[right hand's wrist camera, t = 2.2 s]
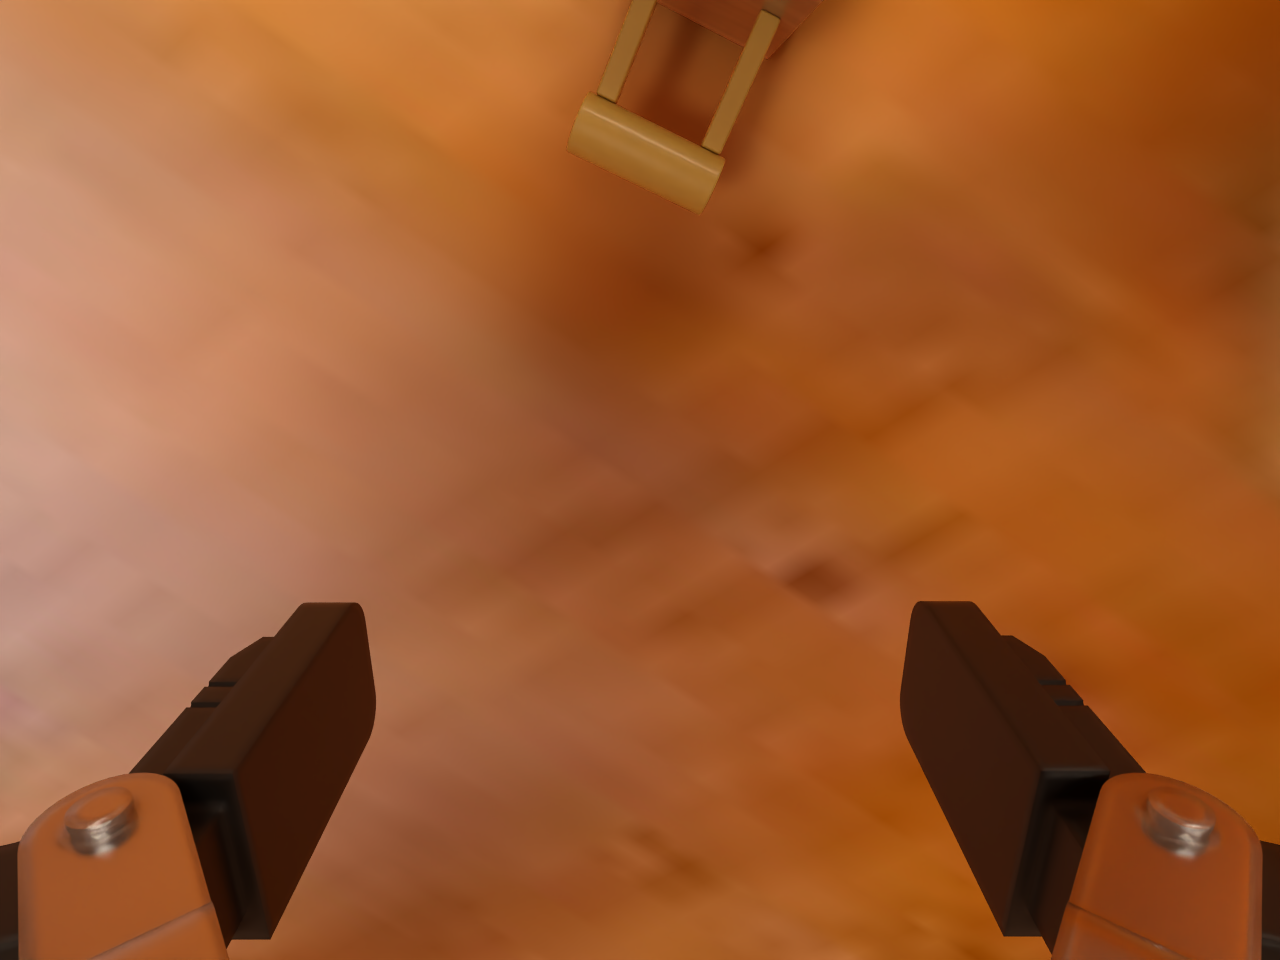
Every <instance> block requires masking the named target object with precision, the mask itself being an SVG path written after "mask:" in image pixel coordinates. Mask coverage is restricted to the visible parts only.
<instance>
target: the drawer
mask: <svg viewBox="0 0 1280 960" xmlns="http://www.w3.org/2000/svg"><path fill="white" fill-rule="evenodd" d="M822 1H823V0H632V1H631V4H630V6H629V9H628V12H627V14H626V17H625V19H624V22H623V24H622V27H621V30H620V32H619V35H618V37H617V40H616V42H615V45H614V48H613V50H612V53H611V55H610V58H609V60H608V63H607V66H606V68H605V71H604V73H603V76H602V78H601V81H600V84H599V86H598V89H597V94H598V95H597V94H595V93H593V92H588V93H587V95H586V96H585V98H584V100H583V102H582V104H581V107H580V109H579V111H578V114H577V116H576V119H575V121H574V124H573V127H572V130H571V133H570V136H569V139H568V143H567V151H568V152H569V153H571V154H573V155H575V156H577V157H580V158H582V159H584V160H586V161H588V162H590V163H592V164H594V165H596V166H598V167H600V168H602V169H604V170H606V171H608V172H611V173H613V174H615V175H617V176H619V177H621V178H623V179H625V180H627V181H629V182H631V183H633V184H635V185H637V186H640V187H642V188H644V189H646V190H648V191H650V192H652V193H654V194H656V195H658V196H660V197H662V198H664V199H666V200H668V201H671V202H673V203H675V204H677V205H679V206H681V207H683V208H685V209H687V210H689V211H691V212H693V213H695V214H697V215H700V214H701V213H702V212H703V210H704V209H705V207H706V205H707V203H708V201H709V199H710V197H711V195H712V193H713V191H714V188H715V186H716V184H717V182H718V179H719V177H720V175H721V172H722V170H723V167H724V164H725V158H723V157H721V156H719V154H720V153H721V152H722V150H723V148H724V146H725V143H726V141H727V139H728V137H729V135H730V132H731V130H732V128H733V126H734V123H735V121H736V119H737V117H738V115H739V112H740V110H741V108H742V106H743V104H744V101H745V99H746V97H747V95H748V92H749V90H750V88H751V86H752V84H753V81H754V79H755V77H756V75H757V73H758V70H759V68H760V66H761V64H762V61H763V59H764V58H765V59H768V58H769V57H770V56H771V55H772V54H773V53H774V52H775V51H776V50H777V49H778V48H779V47H780V46H781V45H782V44H783V43H784V42H785V40H786V39H787V38H788V37H789V36H790V35H791V34H792V33H793V32H794V31H795V30H796V29H797V28H798V27H799V26H800V25H801V23H802V22H803V21H804V20H805V19H806V18H807V17H808V16H809V15H810V14H811V13H812V12H813V11H814V10H815V9H816V8H817V7H818V5H819V4H820V3H821V2H822ZM657 3H659V4H661V5H663V6H665V7H667V8H669V9H671V10H673V11H675V12H676V13H678V14H680V15H682V16H684V17H686V18H688V19H690V20H692V21H694V22H696V23H698V24H699V25H701V26H703V27H705V28H707V29H709V30H711V31H713V32H715V33H717V34H719V35H721V36H722V37H724V38H726V39H728V40H730V41H732V42H734V43H736V44H738V45H740V46H742V47H744V48H743V50H742V52H741V54H740V57H739V59H738V61H737V63H736V66H735V68H734V70H733V73H732V75H731V77H730V79H729V82H728V84H727V86H726V88H725V91H724V93H723V95H722V97H721V100H720V102H719V104H718V106H717V109H716V111H715V113H714V116H713V118H712V120H711V122H710V125H709V127H708V129H707V131H706V134H705V136H704V138H703V140H702V143H701V146H699V145H697V144H695V143H693V142H691V141H689V140H687V139H685V138H683V137H681V136H679V135H677V134H675V133H673V132H671V131H669V130H667V129H665V128H663V127H661V126H659V125H657V124H655V123H653V122H651V121H649V120H647V119H645V118H643V117H641V116H639V115H637V114H635V113H633V112H631V111H629V110H627V109H625V108H623V107H621V106H619V105H617V104H616V103H617V102H618V100H619V97H620V95H621V92H622V89H623V87H624V84H625V82H626V79H627V77H628V74H629V72H630V69H631V67H632V64H633V62H634V59H635V57H636V54H637V52H638V49H639V47H640V44H641V42H642V39H643V37H644V34H645V32H646V29H647V27H648V24H649V22H650V19H651V17H652V14H653V12H654V9H655V7H656V4H657Z"/></svg>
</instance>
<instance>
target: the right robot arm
mask: <svg viewBox="0 0 1280 960" xmlns="http://www.w3.org/2000/svg"><path fill="white" fill-rule="evenodd" d="M900 709H901V718H902V723H903V727H904V731H905V734H906V736H907V739H908V741H909V743H910V745H911V747H912V749H913V751H914V753H915V755H916V757H917V759H918V761H919V763H920V765H921V768H922V770H923V772H924V774H925V776H926V778H927V780H928V782H929V784H930V786H931V788H932V790H933V792H934V794H935V796H936V798H937V800H938V802H939V804H940V807H941V809H942V811H943V813H944V815H945V817H946V819H947V821H948V823H949V825H950V827H951V829H952V831H953V833H954V835H955V837H956V839H957V841H958V843H959V846H960V848H961V850H962V852H963V854H964V856H965V858H966V860H967V862H968V864H969V866H970V868H971V870H972V872H973V874H974V876H975V878H976V880H977V882H978V885H979V887H980V889H981V891H982V893H983V895H984V897H985V899H986V901H987V903H988V905H989V907H990V909H991V911H992V913H993V915H994V917H995V919H996V921H997V924H998V926H999V928H1000V930H1001V932H1002V934H1003V936H1042V937H1043V939H1044V941H1045V943H1046V945H1047V947H1048V948H1049V950H1050V952H1051V954H1052V957H1051V960H1280V845H1278V844H1273V843H1269V842H1264V841H1260V840H1259V839H1258V836H1257V835H1256V833H1255V832H1254V830H1253V829H1252V827H1251V826H1250V825H1249V824H1248V823H1247V822H1246V821H1245V820H1244V819H1243V818H1242V817H1241V816H1240V815H1239V814H1238V813H1237V812H1236V811H1234V810H1233V809H1232V808H1231V807H1229V806H1228V805H1226V804H1225V803H1224V802H1222V801H1221V800H1219V799H1217V798H1216V797H1214V796H1212V795H1211V794H1209V793H1207V792H1205V791H1203V790H1201V789H1199V788H1197V787H1195V786H1192V785H1190V784H1187V783H1185V782H1182V781H1179V780H1176V779H1173V778H1170V777H1165V776H1161V775H1156V774H1149V773H1146V772H1145V771H1144V770H1143V769H1142V768H1141V766H1140V765H1139V764H1138V763H1137V762H1136V761H1135V760H1134V758H1133V757H1132V756H1131V755H1130V754H1129V753H1128V751H1127V750H1126V749H1125V748H1124V747H1123V746H1122V745H1121V743H1120V742H1119V741H1118V740H1117V739H1116V738H1115V736H1114V735H1113V734H1112V733H1111V732H1110V731H1109V730H1108V728H1107V727H1106V726H1105V725H1104V724H1103V723H1102V721H1101V720H1100V719H1099V718H1098V717H1097V716H1096V715H1095V713H1094V712H1093V711H1092V710H1091V709H1090V708H1089V707H1088V706H1084V704H1083V700H1082V698H1081V697H1080V696H1079V695H1078V694H1077V693H1076V692H1075V690H1074V689H1073V688H1072V687H1071V686H1070V685H1066V680H1065V679H1064V678H1063V677H1062V675H1061V674H1060V673H1059V672H1058V671H1057V670H1056V669H1055V667H1054V666H1053V665H1052V664H1051V663H1050V662H1049V660H1048V659H1047V658H1046V657H1045V656H1044V655H1042V654H1041V653H1039V652H1037V651H1036V650H1034V649H1033V648H1031V647H1030V646H1028V645H1026V644H1025V643H1023V642H1022V641H1020V640H1018V639H1017V638H1015V637H1014V636H1001V635H1000V634H999V633H998V631H997V630H996V629H995V628H994V626H993V625H992V624H991V623H990V621H989V620H988V619H987V618H986V616H985V615H984V614H983V613H982V612H981V610H980V609H979V608H978V607H977V605H976V604H975V603H973V602H970V601H920V602H917V603H916V604H915V606H914V608H913V611H912V614H911V620H910V627H909V634H908V641H907V648H906V656H905V663H904V670H903V677H902V684H901V692H900ZM375 711H376V693H375V686H374V679H373V671H372V664H371V657H370V650H369V643H368V636H367V629H366V622H365V616H364V612H363V610H362V607H361V606H360V605H359V604H358V603H303V604H301V605H300V606H299V607H298V608H297V610H296V611H295V612H294V613H293V615H292V616H291V617H290V618H289V619H288V621H287V622H286V623H285V624H284V626H283V627H282V628H281V629H280V630H279V632H278V633H277V634H276V635H275V637H262V638H261V639H259V640H257V641H256V642H254V643H253V644H251V645H250V646H248V647H246V648H245V649H243V650H242V651H240V652H238V653H237V654H235V655H234V656H232V657H231V658H229V660H228V661H227V662H226V663H225V664H224V665H223V666H222V668H221V669H220V670H219V671H218V672H217V673H216V674H215V676H214V677H213V678H212V679H211V680H210V681H209V686H208V687H204V688H203V689H202V690H201V692H200V693H199V694H198V695H197V696H196V697H195V698H194V700H193V701H192V702H191V707H190V708H186V709H185V710H184V711H183V712H182V713H181V714H180V716H179V717H178V718H177V719H176V720H175V721H174V722H173V724H172V725H171V726H170V727H169V728H168V729H167V730H166V732H165V733H164V734H163V735H162V736H161V737H160V738H159V740H158V741H157V742H156V743H155V744H154V745H153V746H152V748H151V749H150V750H149V751H148V752H147V753H146V754H145V756H144V757H143V758H142V759H141V760H140V761H139V762H138V764H137V765H136V766H135V767H134V768H133V769H132V770H131V772H130V773H129V774H124V775H119V776H115V777H110V778H107V779H104V780H101V781H98V782H95V783H93V784H90V785H88V786H85V787H83V788H81V789H79V790H77V791H75V792H73V793H71V794H69V795H68V796H66V797H64V798H63V799H61V800H59V801H58V802H56V803H55V804H54V805H52V806H51V807H49V808H48V809H47V810H46V811H44V812H43V813H42V814H41V815H40V816H39V817H38V818H37V819H36V820H35V821H34V822H33V823H32V824H31V825H30V826H29V827H28V829H27V830H26V832H25V833H24V835H23V836H22V839H21V841H20V842H16V843H12V844H8V845H4V846H0V960H229V957H228V953H227V950H226V949H227V947H228V945H229V943H230V941H231V940H232V939H271V937H272V935H273V933H274V931H275V929H276V927H277V925H278V923H279V921H280V919H281V917H282V915H283V913H284V911H285V909H286V906H287V904H288V902H289V900H290V898H291V896H292V894H293V892H294V890H295V888H296V886H297V884H298V882H299V880H300V878H301V876H302V874H303V872H304V870H305V868H306V866H307V864H308V862H309V860H310V858H311V856H312V854H313V852H314V850H315V848H316V846H317V844H318V842H319V840H320V838H321V836H322V833H323V831H324V829H325V827H326V825H327V823H328V821H329V819H330V817H331V815H332V813H333V811H334V809H335V807H336V805H337V803H338V801H339V799H340V797H341V795H342V793H343V791H344V789H345V787H346V785H347V783H348V781H349V779H350V777H351V775H352V773H353V771H354V769H355V767H356V765H357V763H358V761H359V758H360V756H361V754H362V752H363V750H364V748H365V746H366V744H367V742H368V740H369V738H370V735H371V732H372V729H373V725H374V720H375Z"/></svg>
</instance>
